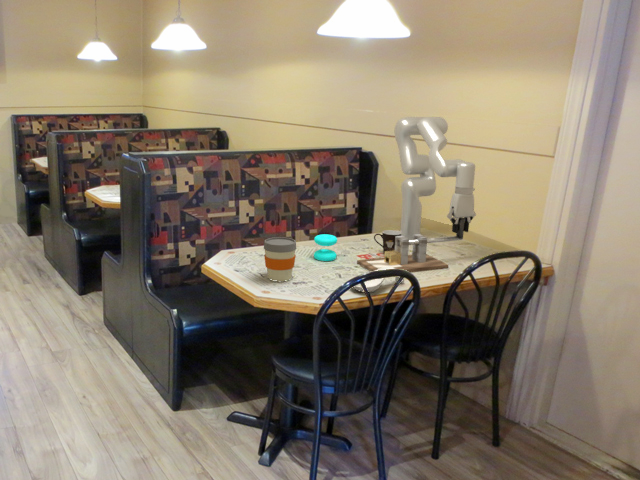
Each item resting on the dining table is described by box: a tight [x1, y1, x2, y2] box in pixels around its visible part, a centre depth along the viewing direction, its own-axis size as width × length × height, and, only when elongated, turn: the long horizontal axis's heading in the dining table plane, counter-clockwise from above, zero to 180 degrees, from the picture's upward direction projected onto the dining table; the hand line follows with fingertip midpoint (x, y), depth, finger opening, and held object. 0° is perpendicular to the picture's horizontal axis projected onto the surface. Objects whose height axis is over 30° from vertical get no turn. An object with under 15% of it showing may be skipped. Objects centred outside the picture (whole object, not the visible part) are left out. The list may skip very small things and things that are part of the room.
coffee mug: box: [373, 229, 402, 255], centre depth 267 cm, size 12×9×10 cm
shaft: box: [399, 217, 465, 246], centre depth 252 cm, size 3×32×10 cm, turn 114°
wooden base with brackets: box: [356, 233, 449, 273], centre depth 248 cm, size 18×34×12 cm, turn 114°
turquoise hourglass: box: [313, 233, 338, 262], centre depth 256 cm, size 10×10×10 cm
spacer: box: [383, 250, 401, 265], centre depth 247 cm, size 5×5×5 cm
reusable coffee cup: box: [263, 236, 297, 281], centre depth 227 cm, size 13×13×15 cm
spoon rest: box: [353, 267, 405, 293], centre depth 222 cm, size 24×12×7 cm, turn 127°
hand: (460, 231), depth 258 cm, fingers open, 4 cm apart
